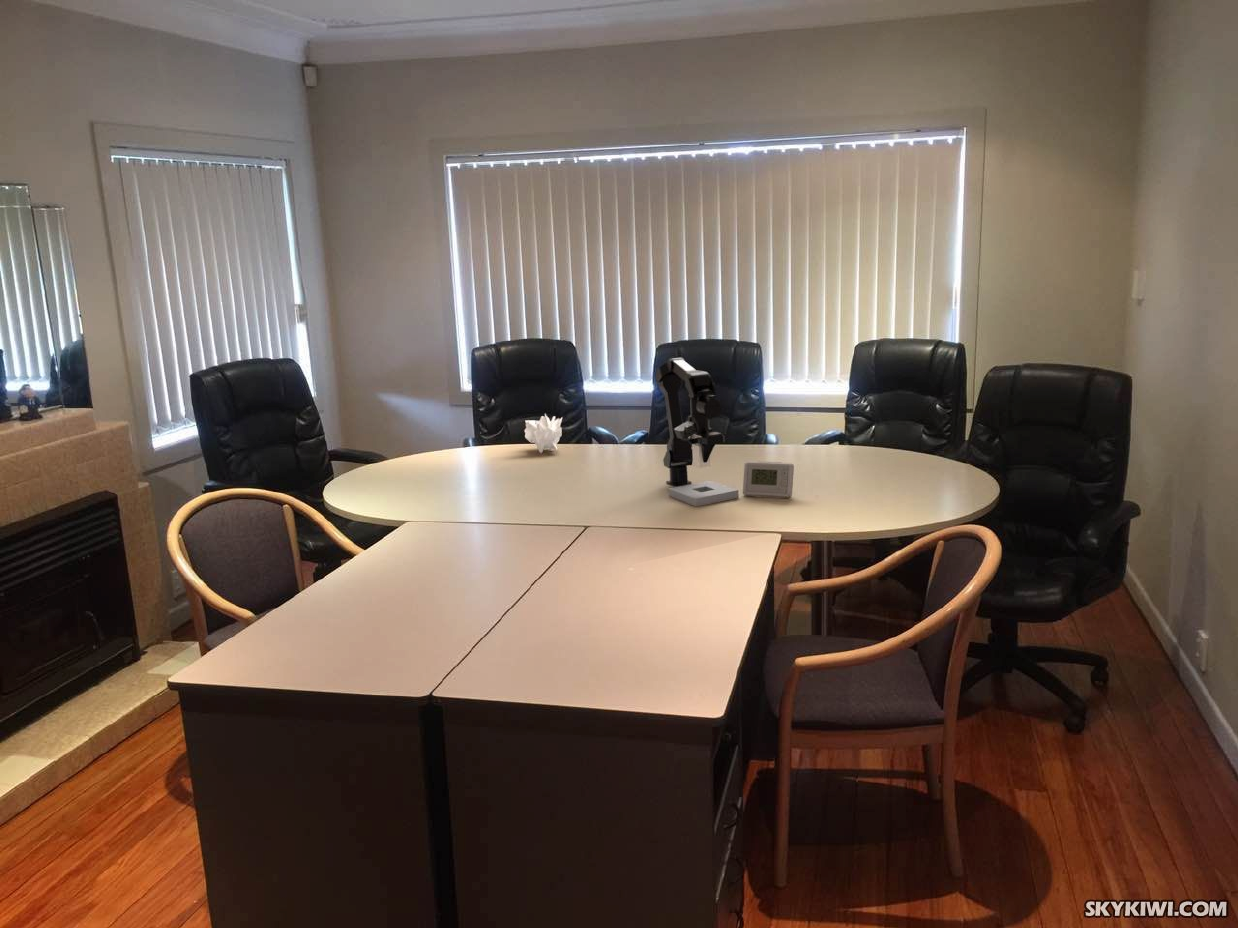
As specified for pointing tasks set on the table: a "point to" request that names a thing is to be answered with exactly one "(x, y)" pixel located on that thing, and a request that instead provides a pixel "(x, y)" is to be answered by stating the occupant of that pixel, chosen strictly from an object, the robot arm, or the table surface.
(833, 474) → the table surface
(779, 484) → the digital clock
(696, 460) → the plug
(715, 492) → the socket plate
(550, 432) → the crumpled paper
